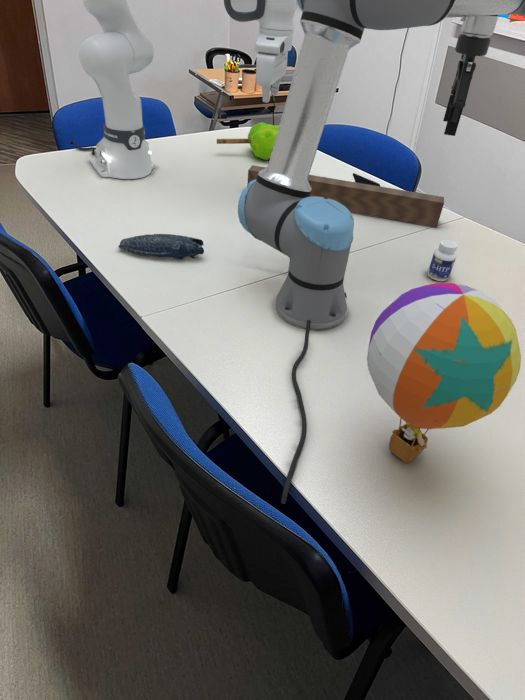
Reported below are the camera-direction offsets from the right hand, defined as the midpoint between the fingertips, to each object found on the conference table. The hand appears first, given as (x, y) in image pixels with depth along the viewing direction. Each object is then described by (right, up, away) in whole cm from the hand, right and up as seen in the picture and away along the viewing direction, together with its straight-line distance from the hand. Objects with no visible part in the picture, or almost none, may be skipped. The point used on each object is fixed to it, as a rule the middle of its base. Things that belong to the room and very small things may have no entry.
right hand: (448, 128), depth 137 cm
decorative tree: (-51, +12, +52) cm, 74 cm away
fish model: (-74, -35, -10) cm, 82 cm away
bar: (-26, -15, +20) cm, 36 cm away
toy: (-27, -75, -54) cm, 97 cm away
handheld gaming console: (-14, -8, +32) cm, 35 cm away
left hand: (-47, +11, +7) cm, 49 cm away
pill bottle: (-6, -41, -8) cm, 42 cm away
